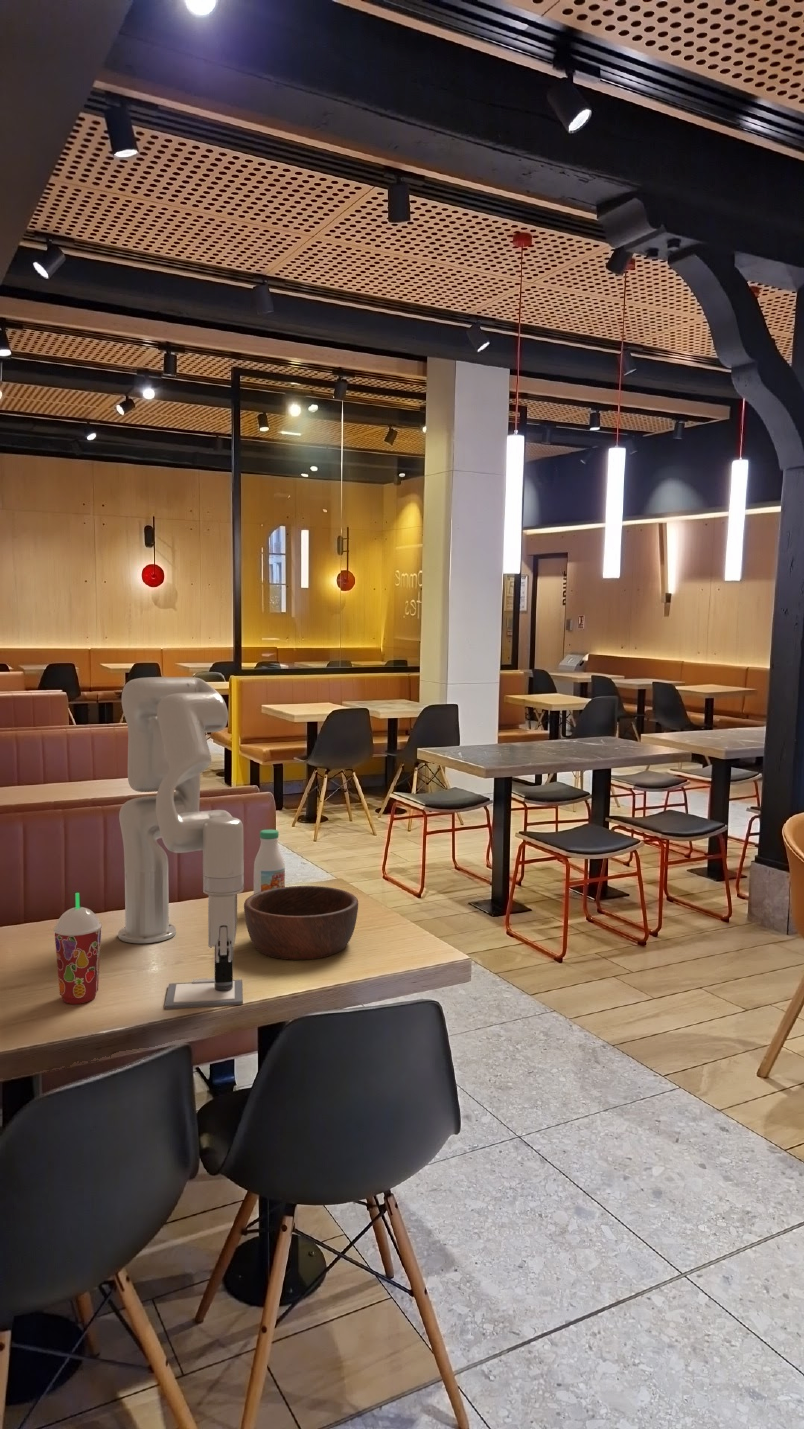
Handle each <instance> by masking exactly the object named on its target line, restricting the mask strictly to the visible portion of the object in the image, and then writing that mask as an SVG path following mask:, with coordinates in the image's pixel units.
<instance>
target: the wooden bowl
mask: <svg viewBox="0 0 804 1429" xmlns="http://www.w3.org/2000/svg"><path fill="white" fill-rule="evenodd" d="M243 910H244V911H243V912H244V918H245V923H246V924H245V925H246V929H247V934H248V936H249V938H250V941H251V943H252V944H253V946H254V948H256V950H257V951H258V952H260V953H261V954H263V955H266V956H267V957H271V958H274V959H275V958H276V959H281V960H293V961H302V960H304V961H305V960H314V959H322V958H326V957H330V956H333V955H336V954H338V953H339V952H341V951H342V950H344V949H345V948H346V947H347V946H348V944H349V942H350V941H351V939H352V937H353V934H354V932H355V927H356V923H357V919H358V918H357V917H358V913H359V912H358V911H359V900H358V897H357V896H356V895H354V894H353V893H351V892H349V891H346V890H343V889H339V888H335V887H334V888H333V887H329V886H321V885H320V886H318V885H294V886H293V885H292V886H285V887H280V888H274V889H269V890H265V891H261V892H258V893H256V894H254V893H252V895H249V897H247V898H246V899H245V901H244V904H243Z"/></svg>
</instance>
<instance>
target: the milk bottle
mask: <svg viewBox="0 0 804 1429" xmlns="http://www.w3.org/2000/svg"><path fill="white" fill-rule="evenodd" d="M279 836H280V833H279V831H278V830H277V829H262V830H260V832H259V838H260V839H259V840H260V845H259V849H258V852H257V854H256V856H255V858H254V862H253V894H256V893H258V892H261V891H265V890H269V889H274V888H280V887H286V871H285V870H286V868H285V867H286V866H285V859H284V856H283V854H282V851H281V849H280V847H279V843H278V841H279Z"/></svg>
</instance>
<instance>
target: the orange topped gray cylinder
mask: <svg viewBox="0 0 804 1429" xmlns="http://www.w3.org/2000/svg"><path fill="white" fill-rule="evenodd" d="M218 945H220V943H218ZM227 945H229V942H227ZM219 951H220V949H219ZM227 951H228V949H227ZM231 960H232V975H233V976H234V972H233V971H234V946H233V947H231ZM215 961H216V945H215V946H214V962H215ZM233 980H234V979H233ZM233 980H232V982H225V983H216V982H215V990H217V991H228V990H231V989H232V988H233Z"/></svg>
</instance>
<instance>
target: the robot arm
mask: <svg viewBox="0 0 804 1429" xmlns="http://www.w3.org/2000/svg"><path fill="white" fill-rule="evenodd" d="M121 706H122V707H121V708H122V711H123V715H124V719H125V721H126V726H127V732H128V733H127V734H128V737H127V740H128V741H127V780H128V781H127V782H128V785H129V787H130V788H131V789H132V790H133V791H135V792H138V793H153V792H154V793H155V792H157V793H156V795H148V796H141V797H135V798H132V799H128V800H127V801H125V802H124V803H123V804H122V806H121V807H120V810H119V812H118V813H119V814H118V817H119V818H118V819H119V824H120V831H121V832H120V833H121V837H122V844H123V856H124V857H123V860H124V864H123V865H124V902H125V904H124V905H125V906H124V907H125V909H124V911H125V912H124V918H125V920H124V921H125V922H124V924H125V926H123V927H122V928H121V929H119V930H118V932H117V937H118V939H119V940H121V941H122V942H124V943H125V942H126V943H129V944H153V943H158V942H163V941H167V940H168V939H171V938H173V937H174V936H175V935H176V933H177V928H176V926H175V925H174V924H171V923H170V915H169V912H170V911H169V909H170V907H169V906H170V903H169V902H170V901H169V898H170V896H169V895H170V894H169V858H168V855H167V852H166V851H165V850H164V848H163V847H162V846H160V844H159V843H158V840H159V839H162V843H163V844H164V846H165V848H166V849H167V850H168V851H170V852H171V853H174V854H181V853H182V854H183V853H191V852H197V851H202V891H203V893H204V894H206V895H208V899H207V900H208V902H207V904H208V905H207V908H208V909H207V918H208V919H207V922H208V923H207V926H208V927H207V928H208V929H207V930H208V931H207V933H208V934H207V936H208V938H207V939H208V941H207V943H208V944H207V946H208V948H210V949H212V948H214V947H215V945H216V961H215V960H214V978H215V982H216V983H225V982H232V980H234V978H233V977H234V974H233V975H232V960H231V947H233V948H234V946H235V945H236V944H235V942H236V934H237V920H238V894H241V893H243V892H244V891H245V890H244V888H245V887H244V886H245V884H244V879H245V876H244V866H245V865H244V862H245V859H244V856H245V854H244V853H245V852H244V824H243V822H242V820H241V819H239V818H237V817H234V816H232V815H231V813H230V812H228V811H227V810H224V809H213V810H201V811H200V802H201V800H200V798H201V797H200V796H201V773H203V772H204V771H206V770H207V769H208V768H209V767H210V766H211V763H212V755H211V752H210V748H209V745H208V741H207V736H206V733H218V732H222V731H223V730H224V729H225V728H226V727H227V724H228V721H229V710H228V707H227V703H226V702H225V699H224V698H223V696H222V695H221V694H220V692H218V691H217V690H216V689H215V688H214V687H212V686H211V685H210V684H209V683H208V682H206V681H205V680H204V679H202V678H199V677H194V676H192V677H191V676H173V677H172V676H171V677H170V676H155V677H154V676H153V677H152V676H151V677H150V676H149V677H139V678H134V679H130V680H129V681H128V682H126V683H125V685H124V686H123V688H122V692H121ZM227 942H229V945H227ZM218 943H220V945H218ZM219 949H220V951H219ZM227 949H228V951H227Z"/></svg>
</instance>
